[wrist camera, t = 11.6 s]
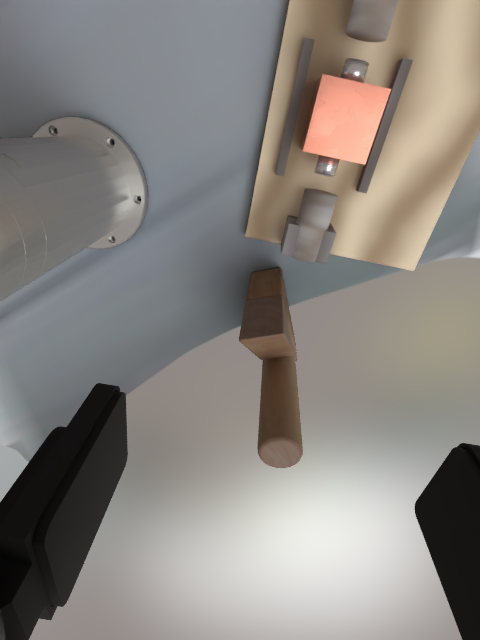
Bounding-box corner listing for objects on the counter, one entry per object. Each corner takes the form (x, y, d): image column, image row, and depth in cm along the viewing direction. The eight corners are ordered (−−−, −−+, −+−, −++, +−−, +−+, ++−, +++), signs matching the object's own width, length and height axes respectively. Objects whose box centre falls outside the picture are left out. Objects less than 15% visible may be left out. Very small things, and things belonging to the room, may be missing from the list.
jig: (246, 233, 36) (241, 248, 32) (303, -73, 25) (309, -117, 20) (409, 266, 36) (428, 286, 32) (542, -23, 25) (601, -56, 20)
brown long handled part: (281, 266, 38) (284, 362, 22) (296, 345, 43) (307, 469, 27) (249, 272, 39) (230, 370, 23) (267, 349, 43) (262, 472, 28)
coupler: (294, 165, 32) (297, 171, 27) (321, 60, 28) (329, 47, 23) (347, 176, 32) (358, 184, 27) (380, 73, 28) (400, 63, 23)
